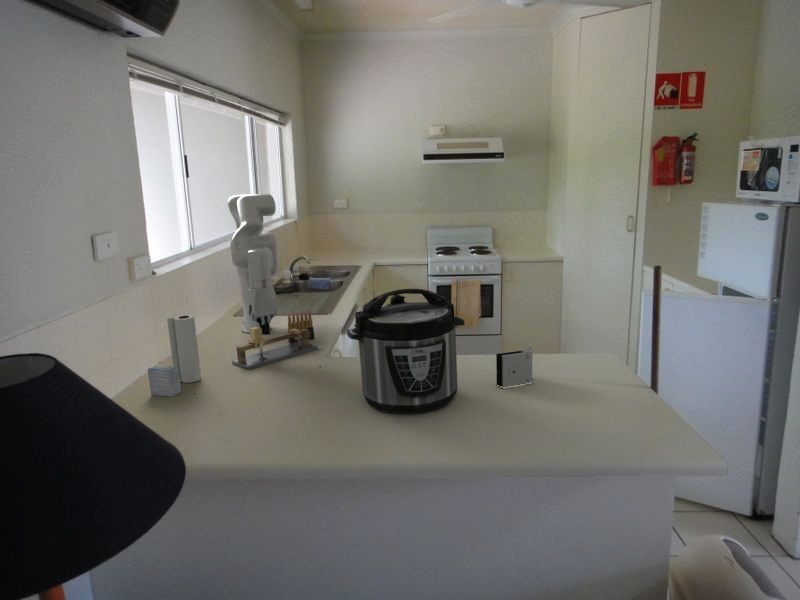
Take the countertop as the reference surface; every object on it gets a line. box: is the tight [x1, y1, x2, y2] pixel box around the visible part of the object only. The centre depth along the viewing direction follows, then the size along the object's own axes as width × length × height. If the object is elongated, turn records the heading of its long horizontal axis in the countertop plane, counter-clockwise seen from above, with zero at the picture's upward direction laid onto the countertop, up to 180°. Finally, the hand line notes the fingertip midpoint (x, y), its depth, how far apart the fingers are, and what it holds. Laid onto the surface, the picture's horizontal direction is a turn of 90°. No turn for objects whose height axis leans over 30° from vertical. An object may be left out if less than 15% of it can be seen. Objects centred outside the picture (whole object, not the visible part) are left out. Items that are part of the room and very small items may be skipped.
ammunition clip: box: [287, 309, 316, 344], centre depth 229 cm, size 11×2×12 cm, turn 124°
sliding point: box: [247, 327, 266, 359], centre depth 203 cm, size 5×4×11 cm
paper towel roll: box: [166, 314, 202, 384], centre depth 185 cm, size 7×6×21 cm
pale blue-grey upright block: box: [147, 364, 182, 398], centre depth 175 cm, size 8×4×9 cm, turn 71°
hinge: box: [495, 345, 533, 388], centre depth 170 cm, size 14×5×10 cm, turn 120°
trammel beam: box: [236, 329, 310, 364], centre depth 209 cm, size 4×30×7 cm, turn 138°
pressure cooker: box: [346, 288, 466, 414], centre depth 159 cm, size 30×28×32 cm
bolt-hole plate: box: [231, 341, 319, 371], centre depth 210 cm, size 11×30×1 cm, turn 137°
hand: (265, 334), depth 206 cm, fingers closed
